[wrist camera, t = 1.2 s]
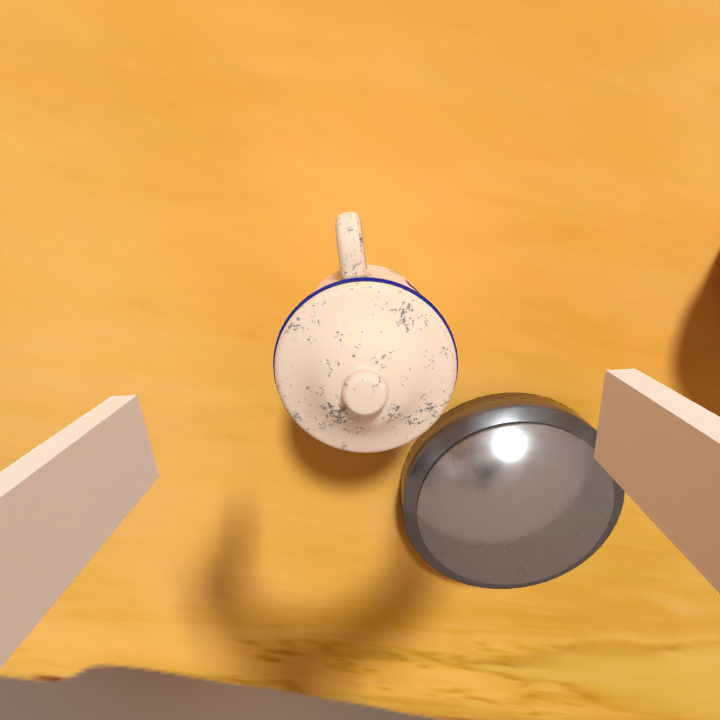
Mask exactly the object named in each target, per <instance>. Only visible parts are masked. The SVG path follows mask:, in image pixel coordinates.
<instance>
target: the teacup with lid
mask: <svg viewBox="0 0 720 720" xmlns="http://www.w3.org/2000/svg"><path fill="white" fill-rule="evenodd" d="M336 238H337V247H338V255H339V262H340V269H341V270H339V271H337V272H335V273H333V274H331V275H330V276H328V277H327V278H326V279H325V280H323V281H322V282H321V283H320V284H319V285H318V286H317V288H316V289H315V290H314V291H313V293H312V294H310V295H309V296H308V297H306V298H305V299H304V300H303V301H302V302H301V303H300V304H299V305H298V306H297V307H296V308H295V309H294V310H293V311H292V312H291V314H290V315H289V316H288V318H287V319H286V321H285V323H284V324H283V326H282V328H281V330H280V333H279V336H278V338H277V342H276V346H275V351H274V360H273V368H274V377H275V383H276V386H277V390H278V393H279V395H280V398H281V400H282V402H283V404H284V406H285V408H286V410H287V411H288V413H289V414H290V416H291V417H292V418H293V420H294V421H295V422H296V423H297V424H298V425H299V426H300V427H301V428H302V429H303V430H304V431H306V432H307V433H308V434H309V435H311V436H312V437H314V438H315V439H317V440H319V441H320V442H322V443H324V444H327V445H329V446H331V447H334V448H337V449H341V450H345V451H350V452H358V453H374V452H382V451H387V450H391V449H394V448H397V447H400V446H402V445H405V444H407V443H409V442H411V441H413V440H415V439H416V438H418V437H419V436H421V435H422V434H423V433H425V432H426V431H427V430H428V429H429V428H430V427H431V426H432V425H433V424H434V423H435V422H436V421H437V420H438V419H439V418H440V416H441V415H442V413H443V412H444V410H445V409H446V407H447V405H448V403H449V401H450V399H451V396H452V394H453V391H454V388H455V384H456V379H457V372H458V357H457V349H456V345H455V341H454V338H453V335H452V333H451V330H450V328H449V326H448V324H447V323H446V321H445V319H444V318H443V316H442V315H441V314H440V312H439V311H438V310H437V309H436V308H435V306H434V305H433V304H432V303H431V302H429V301H428V300H427V299H426V298H425V297H423V296H422V295H421V294H420V293H419V292H418V290H417V289H416V288H415V287H414V286H413V284H412V283H411V282H410V281H408V280H407V279H406V278H405V277H403V276H402V275H400V274H399V273H397V272H395V271H393V270H391V269H388V268H385V267H382V266H377V265H367V264H366V256H365V248H364V240H363V233H362V226H361V219H360V217H359V215H358V214H357V213H355V212H346V213H341V214H339V215H338V217H337V219H336Z"/></svg>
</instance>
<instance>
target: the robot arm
mask: <svg viewBox="0 0 720 720" xmlns="http://www.w3.org/2000/svg"><path fill="white" fill-rule="evenodd" d="M594 459H595V460H596V461H597V462H598V463H599V464H600V465H601V466H602V467H603V468H604V470H605V471H606V472H607V473H608V474H609V475H610V476H611V477H612V478H613V479H614V480H615V481H616V482H617V484H618V485H619V486H620V487H621V488H622V489H623V490H624V491H625V492H626V493H627V494H628V495H629V496H630V498H631V499H632V500H633V501H634V502H635V503H636V504H637V505H638V506H639V507H640V508H641V509H642V510H643V512H644V513H645V514H646V515H647V516H648V517H649V518H650V519H651V520H652V521H653V522H654V523H655V524H656V526H657V527H658V528H659V529H660V530H661V531H662V532H663V533H664V534H665V535H666V536H667V537H668V538H669V539H670V541H671V542H672V543H673V544H674V545H675V546H676V547H677V548H678V549H679V550H680V551H681V552H682V553H683V555H684V556H685V557H686V558H687V559H688V560H689V561H690V562H691V563H692V564H693V565H694V566H695V567H696V569H697V570H698V571H699V572H700V573H701V574H702V575H703V576H704V577H705V578H706V579H707V580H708V581H709V583H710V584H711V585H712V586H713V587H714V588H715V589H716V590H717V591H718V592H719V593H720V417H719V416H717V415H716V414H714V413H712V412H710V411H709V410H707V409H705V408H703V407H702V406H700V405H698V404H696V403H694V402H693V401H691V400H689V399H687V398H686V397H684V396H682V395H680V394H679V393H677V392H675V391H673V390H672V389H670V388H668V387H666V386H665V385H663V384H661V383H659V382H657V381H656V380H654V379H652V378H650V377H649V376H647V375H645V374H643V373H642V372H640V371H638V370H636V369H619V370H606V373H605V380H604V387H603V394H602V401H601V408H600V415H599V423H598V430H597V437H596V444H595V451H594ZM158 477H159V473H158V469H157V465H156V462H155V458H154V454H153V451H152V447H151V443H150V440H149V436H148V432H147V429H146V425H145V421H144V418H143V414H142V410H141V407H140V403H139V399H138V396H137V395H126V396H111V397H110V398H108V399H107V400H105V401H104V402H102V403H101V404H99V405H98V406H96V407H95V408H94V409H92V410H91V411H89V412H88V413H86V414H85V415H83V416H82V417H80V418H79V419H77V420H76V421H74V422H73V423H71V424H70V425H68V426H67V427H66V428H64V429H63V430H61V431H60V432H58V433H57V434H55V435H54V436H52V437H51V438H49V439H48V440H46V441H45V442H43V443H42V444H41V445H39V446H38V447H36V448H35V449H33V450H32V451H30V452H29V453H27V454H26V455H24V456H23V457H21V458H20V459H18V460H17V461H16V462H14V463H13V464H11V465H10V466H8V467H7V468H5V469H4V470H2V471H1V472H0V668H1V667H2V666H3V665H4V663H5V662H6V661H7V660H8V659H9V657H10V656H11V655H12V654H13V653H14V651H15V650H16V649H17V648H18V647H19V645H20V644H21V643H22V642H23V641H24V639H25V638H26V637H27V636H28V634H29V633H30V632H31V631H32V630H33V628H34V627H35V626H36V625H37V624H38V622H39V621H40V620H41V619H42V618H43V616H44V615H45V614H46V613H47V612H48V610H49V609H50V608H51V607H52V605H53V604H54V603H55V602H56V601H57V599H58V598H59V597H60V596H61V595H62V593H63V592H64V591H65V590H66V589H67V587H68V586H69V585H70V584H71V582H72V581H73V580H74V579H75V578H76V576H77V575H78V574H79V573H80V572H81V570H82V569H83V568H84V567H85V566H86V564H87V563H88V562H89V561H90V560H91V558H92V557H93V556H94V555H95V553H96V552H97V551H98V550H99V549H100V547H101V546H102V545H103V544H104V543H105V541H106V540H107V539H108V538H109V537H110V535H111V534H112V533H113V532H114V531H115V529H116V528H117V527H118V526H119V524H120V523H121V522H122V521H123V520H124V518H125V517H126V516H127V515H128V514H129V512H130V511H131V510H132V509H133V508H134V506H135V505H136V504H137V503H138V501H139V500H140V499H141V498H142V497H143V495H144V494H145V493H146V492H147V491H148V489H149V488H150V487H151V486H152V485H153V483H154V482H155V481H156V480H157V479H158Z"/></svg>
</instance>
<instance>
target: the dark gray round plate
mask: <svg viewBox="0 0 720 720" xmlns="http://www.w3.org/2000/svg"><path fill="white" fill-rule="evenodd" d="M596 437H597V431H596V430H595V429H594V428H593V427H592V426H591V425H590V424H589V423H588V422H586V421H585V420H584V419H583V418H582V417H581V416H580V415H578V414H577V413H576V412H575V411H573V410H572V409H570V408H568V407H567V406H565V405H563V404H562V403H559V402H557V401H554V400H552V399H549V398H546V397H542V396H538V395H534V394H526V393H501V394H492V395H488V396H483V397H479V398H476V399H473V400H470V401H468V402H465V403H463V404H461V405H458V406H456V407H454V408H452V409H451V410H449V411H448V412H446V413H444V414H443V415H441V416H440V418H439V419H438V420H437V421H436V422H435V423H434V424H433V425H432V426H431V427H430V428H429V429H428V430H427V431H426V432H425V433H423V434H422V435H421V436H419V437H418V439H417V440H416V441H415V443H414V444H413V446H412V448H411V450H410V451H409V453H408V455H407V457H406V460H405V463H404V466H403V470H402V475H401V486H400V491H401V500H402V508H403V516H404V523H405V527H406V530H407V534H408V536H409V538H410V540H411V542H412V544H413V546H414V547H415V549H416V550H417V552H418V553H419V554H420V555H421V556H422V557H423V559H424V560H425V561H426V562H427V563H429V564H430V565H431V566H432V567H433V568H435V569H436V570H438V571H439V572H441V573H442V574H444V575H446V576H448V577H450V578H452V579H454V580H456V581H459V582H462V583H465V584H468V585H472V586H477V587H482V588H491V589H511V588H521V587H527V586H532V585H536V584H539V583H543V582H546V581H549V580H551V579H554V578H557V577H559V576H561V575H563V574H565V573H567V572H569V571H571V570H572V569H574V568H575V567H577V566H578V565H580V564H582V563H583V562H584V561H585V560H587V559H588V558H589V557H590V556H592V555H593V554H594V553H595V552H596V551H597V550H598V549H599V548H600V547H601V546H602V544H603V543H604V542H605V540H606V539H607V538H608V537H609V535H610V534H611V532H612V530H613V528H614V527H615V525H616V523H617V520H618V518H619V516H620V513H621V509H622V506H623V502H624V490H623V489H622V488H621V487H620V486H619V485H618V484H617V482H616V481H615V480H614V479H613V478H612V477H611V476H610V475H609V474H608V473H607V472H606V471H605V470H604V468H603V467H602V466H601V465H600V464H599V463H598V462H597V461H596V460H595V459H594V451H595V444H596Z"/></svg>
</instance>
